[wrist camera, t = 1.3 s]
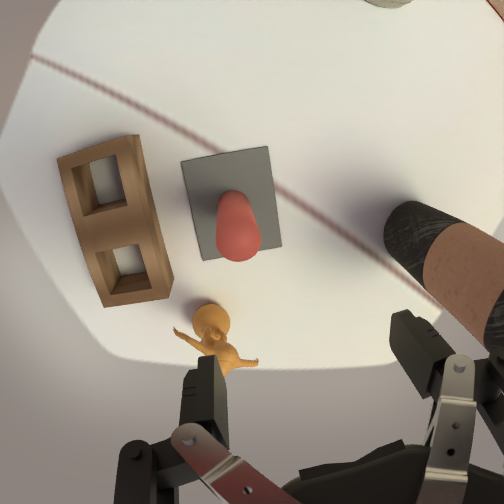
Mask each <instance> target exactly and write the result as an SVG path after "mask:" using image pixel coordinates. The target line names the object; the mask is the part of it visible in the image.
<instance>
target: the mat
mask: <svg viewBox="0 0 504 504" xmlns="http://www.w3.org/2000/svg"><path fill="white" fill-rule="evenodd" d="M182 167H183V172H184V177H185V182H186V187H187V191H188V196H189V201H190V205H191V210H192V215H193V219H194V223H195V228H196V232H197V237H198V241H199V245H200V250H201V254H202V258H203V261H206V260H211V259H217V258H223V256H222V255H221V254H220V253H219V251H218V249H217V246H216V225H217V210H218V201H219V199H220V197H221V196H222V195H223V194H224V193H225V192H227V191H230V190H237V191H240V192H242V193H244V194H245V195H246V196H247V198H248V200H249V202H250V205H251V208H252V211H253V214H254V217H255V220H256V222H257V225H258V228H259V231H260V234H261V245H260V248H259V250H258V251H261V250H267V249H273V248H278V247H282V243H281V235H280V228H279V220H278V213H277V206H276V198H275V191H274V184H273V178H272V171H271V164H270V157H269V151H268V146H267V147H260V148H254V149H248V150H242V151H236V152H230V153H224V154H219V155H214V156H208V157H203V158H198V159H193V160H189V161H184V162H182Z"/></svg>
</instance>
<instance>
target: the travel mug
mask: <svg viewBox="0 0 504 504" xmlns="http://www.w3.org/2000/svg"><path fill="white" fill-rule="evenodd" d="M384 243H385V246H386V249H387V250H388V252H389V253H390V254H391V256H392V257H393V258H394V259H395V260H396V261H397V262H398V263H399V264H400V265H401V266H402V267H404V268H405V269H406V270H407V271H408V272H409V273H410V274H411V275H412V276H413V277H414V278H415V279H416V280H417V281H418V282H419V283H420V284H421V285H422V287H423V288H424V289H425V290H426V291H427V292H428V293H429V294H430V295H432V296H433V297H434V298H435V299H436V300H437V301H438V302H439V303H440V304H441V305H442V306H443V307H444V308H445V309H446V310H448V311H449V312H450V313H451V314H452V315H453V316H454V317H455V318H456V319H457V320H458V321H459V322H460V323H461V324H462V325H463V326H464V327H465V328H466V329H467V330H468V331H469V332H470V333H471V334H472V335H473V336H474V337H475V338H476V339H477V340H478V341H479V342H480V343H481V344H482V345H483V346H484V348H485V349H486V350H487V351H488V352H489V353H490V352H491V351H492V350H493V349H495V348H498V347H503V348H504V243H502V242H500V241H499V240H497V239H495V238H493V237H492V236H490V235H488V234H487V233H485V232H483V231H481V230H479V229H478V228H476V227H474V226H472V225H470V224H468V223H466V222H464V221H462V220H460V219H458V218H455V217H453V216H451V215H449V214H446V213H444V212H442V211H440V210H437V209H435V208H433V207H430V206H428V205H425V204H423V203H420V202H416V201H411V202H406V203H404V204H401V205H400V206H398V207H397V208H396V209H395V210H394V211H393V212H392V213H391V215H390V216H389V218H388V220H387V222H386V225H385V229H384Z"/></svg>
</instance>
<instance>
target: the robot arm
mask: <svg viewBox="0 0 504 504" xmlns="http://www.w3.org/2000/svg"><path fill="white" fill-rule="evenodd" d="M366 1H368V2H370V3H372V4H375V5H377V6H381V7H385V8H397V7H401V6H403V5H405V4H407V3H410V2H411V1H413V0H366ZM389 343H390V347H391V350H392V352H393V353H394V355H395V356H396V358H397V359H398V361H399V362H400V364H401V366H402V367H403V369H404V370H405V372H406V373H407V375H408V376H409V378H410V379H411V381H412V383H413V384H414V386H415V387H416V389H417V391H418V392H419V394H420V395H421V397H422V399H425V398H428V397H430V396H432V398H433V402H432V406H431V411H430V416H429V420H428V424H427V428H426V433H425V436H424V439H423V442H422V445H415V444H411V445H404V443H403V441H402V439H401V440H398V441H395V442H393V443H390V444H387V445H385V446H382V447H379V448H377V449H375V450H374V451H372V452H371V453H369V454H367V455H366V456H364V457H362V458H360V459H359V460H357V461H355V462H347V463H333V464H323V465H319V466H315V467H311V468H306V469H302V470H299V474H300V476H299V477H297V478H295V479H293V480H291V481H290V482H288V483H287V484H285V485H284V486H283V487H282V488H279V487H278V486H277V485H275V484H274V483H273V482H271V481H270V480H269V479H268V478H266V477H265V476H264V475H262V474H261V473H260V472H259V471H257V470H256V469H255V468H253V467H252V466H251V465H250V464H249V463H247V462H246V461H245V460H244V459H242V458H241V457H239V456H234V455H232V453H230V452H229V451H228V450H229V434H228V433H229V432H228V410H227V389H226V383H225V379H224V376H223V373H222V370H221V367H220V365H219V362H218V359H217V356H216V355H215V354H214V355H208V356H201V357H199V358H198V368H197V369H192V370H189V371H188V373H187V374H186V376H185V378H184V381H183V390H182V400H181V411H180V421H179V427H177V428H176V429H175V430H174V431H173V433H172V435H171V437H170V438H168V439H166V440H164V441H161V442H158V443H155V444H152V445H149V444H148V443H147V442H145V441H142V440H134V441H131V442H128V443H127V444H125V445H124V446H123V447H122V449H121V451H120V454H119V461H118V468H117V476H116V485H115V494H114V504H179V489H178V486H181V485H184V484H187V483H190V482H193V481H195V480H198V479H199V480H200V481H201V482H202V483H203V484H204V485H205V486H206V487H207V488H208V489H209V490H210V491H211V492H212V493H213V494H214V495H215V496H216V497H217V498H218V499H219V500H220V501H221V502H222V503H223V504H504V471H503V475H500V474H497V473H494V472H492V471H489V470H486V469H483V468H480V467H478V466H475V465H472V464H470V463H469V459H470V453H471V447H472V440H473V433H474V425H475V416H476V408H477V410H478V411H479V413H480V415H481V416H482V418H483V420H484V421H485V423H486V425H487V426H488V428H489V430H490V432H491V433H492V435H493V437H494V439H495V440H496V442H497V444H498V446H499V448H500V449H501V451H502V453H503V455H504V395H503V393H504V348H503V347H498V348H495V349H493V350H492V351H491V352H490V355H489V358H486V359H480V360H472V359H471V358H470V357H469V356H467V355H464V354H456V353H455V352H454V350H453V349H452V348H451V347H450V346H449V344H448V343H447V342H446V341H445V340H444V339H443V338H442V337H441V335H439V333H438V332H437V331H436V330H435V329H434V327H433V326H432V325H431V324H430V323H429V322H428V321H427V320H425V319H423V318H421V317H415V316H414V315H413V314H412V313H411V312H410V311H409V310H408V309H406V310H403V311H400V312H396V313H393V314H392V316H391V327H390V337H389ZM502 391H503V393H502ZM503 469H504V462H503Z"/></svg>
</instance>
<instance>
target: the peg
mask: <svg viewBox="0 0 504 504" xmlns="http://www.w3.org/2000/svg"><path fill="white" fill-rule="evenodd" d="M260 245H261V234H260V231H259V228H258V225H257V222H256V220H255V217H254V214H253V211H252V208H251V205H250V202H249V200H248V198H247V196H246V195H245V194H244V193H242V192H240V191H237V190H230V191H227V192H225V193H224V194H223V195H222V196H221V197H220V199H219V201H218V210H217V225H216V246H217V249H218V251H219V253H220V254H221V255H222V256H223V257H225V258H226V259H228V260H231V261H236V262H241V261H245V260H248V259H250V258H252V257H253V256H254V255H255V254H256V253H257V252H258V250H259V248H260Z"/></svg>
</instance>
